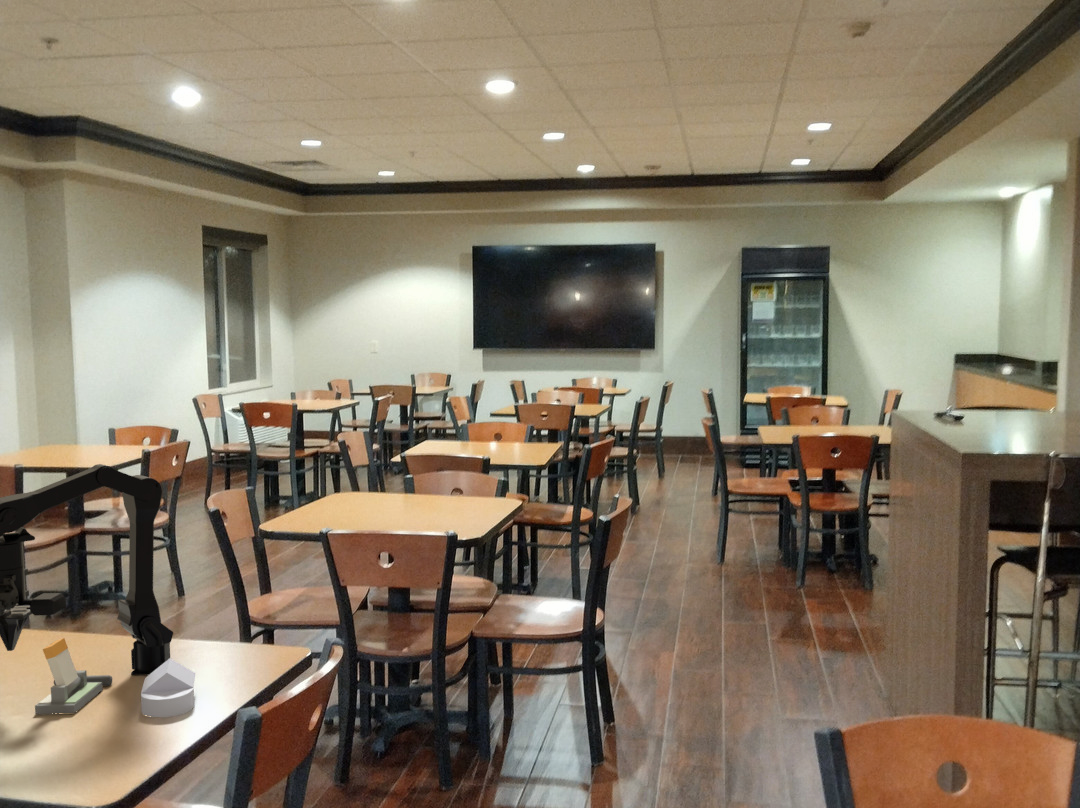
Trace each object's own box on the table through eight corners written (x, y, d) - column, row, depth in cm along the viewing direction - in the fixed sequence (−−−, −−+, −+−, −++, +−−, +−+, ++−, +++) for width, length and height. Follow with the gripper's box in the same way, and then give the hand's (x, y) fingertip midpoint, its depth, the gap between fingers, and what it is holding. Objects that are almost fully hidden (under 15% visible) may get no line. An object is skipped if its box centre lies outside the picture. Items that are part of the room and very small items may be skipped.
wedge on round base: (145, 695, 189) (139, 720, 176) (144, 660, 188) (137, 683, 176) (196, 690, 191) (193, 714, 179) (194, 655, 191) (191, 677, 178)
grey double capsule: (115, 681, 197) (115, 672, 197) (108, 687, 193) (108, 678, 193) (60, 681, 196) (59, 673, 196) (52, 688, 193) (51, 678, 193)
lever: (82, 684, 188) (65, 637, 188) (69, 694, 183) (51, 646, 182) (72, 687, 188) (55, 640, 188) (59, 698, 183) (41, 650, 182)
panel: (102, 690, 192) (101, 667, 191) (74, 713, 180) (73, 690, 179) (65, 690, 192) (64, 668, 191) (35, 714, 180) (34, 690, 179)
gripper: (-71, 578, 176) (-66, 665, 177) (36, 577, 176) (40, 663, 177) (-36, 564, 187) (-31, 646, 188) (65, 562, 187) (69, 644, 188)
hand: (10, 650), depth 185 cm, fingers closed
